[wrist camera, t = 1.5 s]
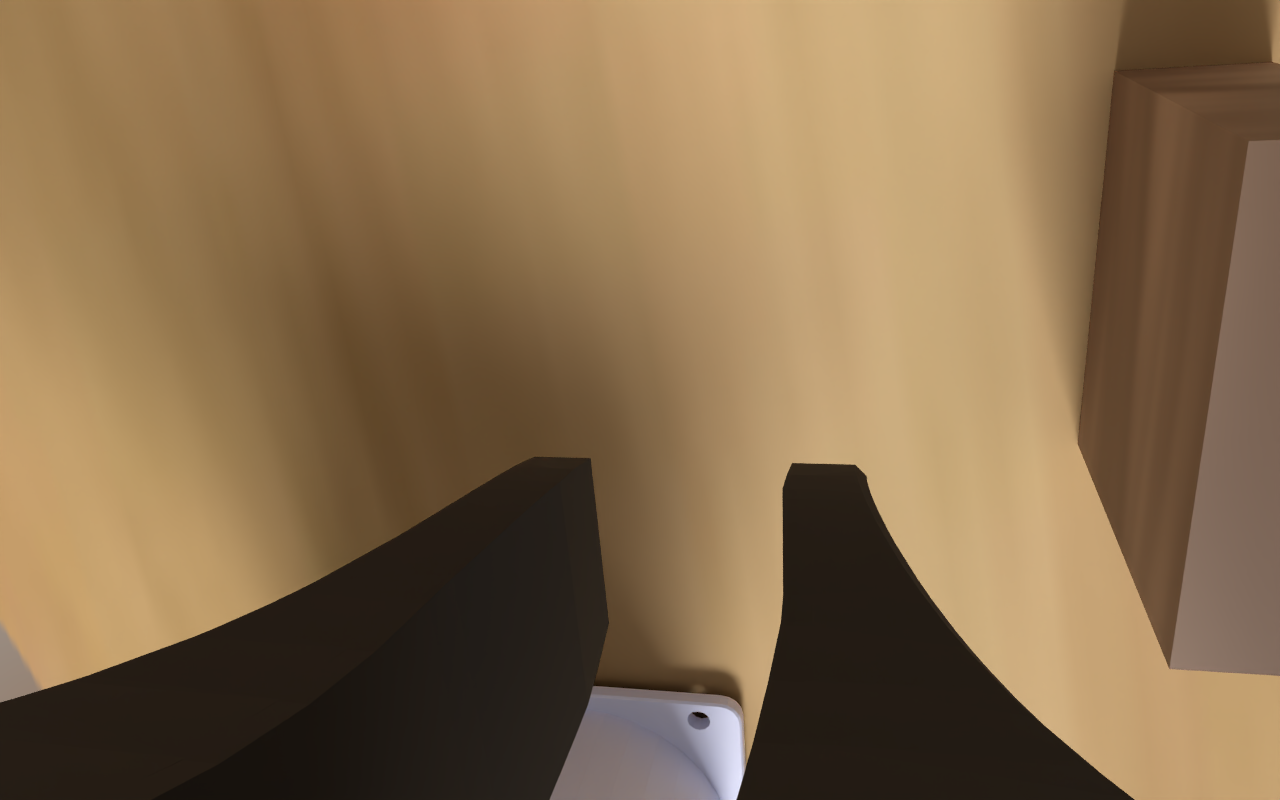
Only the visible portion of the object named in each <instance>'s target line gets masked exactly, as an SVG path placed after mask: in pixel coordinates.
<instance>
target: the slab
mask: <svg viewBox="0 0 1280 800" xmlns="http://www.w3.org/2000/svg"><path fill="white" fill-rule="evenodd" d="M1078 446H1079V448H1080V450H1081V453H1082V455H1083V458H1084V460H1085V463H1086V465H1087V468H1088V470H1089V473H1090V475H1091V477H1092V480H1093V482H1094V485H1095V487H1096V490H1097V492H1098V495H1099V497H1100V500H1101V502H1102V504H1103V507H1104V509H1105V512H1106V514H1107V517H1108V519H1109V522H1110V524H1111V527H1112V529H1113V531H1114V534H1115V536H1116V539H1117V541H1118V544H1119V546H1120V549H1121V551H1122V554H1123V556H1124V559H1125V561H1126V563H1127V566H1128V568H1129V571H1130V573H1131V576H1132V578H1133V581H1134V583H1135V586H1136V588H1137V590H1138V593H1139V595H1140V598H1141V600H1142V603H1143V605H1144V608H1145V610H1146V613H1147V615H1148V617H1149V620H1150V622H1151V625H1152V627H1153V630H1154V632H1155V635H1156V637H1157V640H1158V642H1159V644H1160V647H1161V649H1162V652H1163V654H1164V657H1165V659H1166V662H1167V664H1168V667H1169V669H1179V670H1195V671H1211V672H1228V673H1244V674H1260V675H1276V676H1280V64H1277V63H1273V62H1264V63H1246V64H1228V65H1210V66H1193V67H1175V68H1157V69H1139V70H1122V71H1114V79H1113V89H1112V99H1111V109H1110V120H1109V130H1108V140H1107V151H1106V161H1105V171H1104V181H1103V192H1102V202H1101V212H1100V222H1099V233H1098V243H1097V253H1096V264H1095V274H1094V284H1093V294H1092V305H1091V315H1090V325H1089V335H1088V346H1087V356H1086V366H1085V377H1084V387H1083V397H1082V407H1081V418H1080V428H1079V438H1078Z"/></svg>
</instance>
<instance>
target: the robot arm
mask: <svg viewBox="0 0 1280 800" xmlns="http://www.w3.org/2000/svg"><path fill="white" fill-rule="evenodd" d="M608 624H609V620H608V611H607V602H606V593H605V584H604V575H603V566H602V557H601V548H600V539H599V530H598V521H597V512H596V503H595V495H594V486H593V477H592V468H591V459H590V458H558V457H533V458H531V459H529V460H527V461H524V462H522V463H520V464H518V465H516V466H514V467H512V468H511V469H509V470H507V471H505V472H504V473H502V474H500V475H498V476H497V477H495V478H493V479H492V480H490V481H488V482H487V483H485V484H483V485H482V486H480V487H478V488H477V489H475V490H473V491H472V492H470V493H469V494H467V495H465V496H464V497H462V498H460V499H459V500H457V501H455V502H454V503H452V504H450V505H449V506H447V507H446V508H444V509H442V510H441V511H439V512H437V513H436V514H434V515H432V516H431V517H429V518H427V519H426V520H424V521H422V522H421V523H419V524H418V525H416V526H414V527H413V528H411V529H409V530H408V531H406V532H404V533H403V534H401V535H399V536H398V537H396V538H394V539H392V540H390V541H389V542H387V543H385V544H383V545H381V546H379V547H378V548H376V549H374V550H372V551H370V552H369V553H367V554H365V555H363V556H361V557H360V558H358V559H356V560H354V561H352V562H350V563H349V564H347V565H345V566H343V567H341V568H340V569H338V570H336V571H334V572H332V573H331V574H329V575H327V576H325V577H323V578H321V579H320V580H318V581H316V582H314V583H312V584H310V585H308V586H306V587H304V588H302V589H300V590H298V591H296V592H294V593H292V594H290V595H288V596H286V597H283V598H281V599H279V600H277V601H275V602H273V603H271V604H269V605H267V606H264V607H262V608H260V609H258V610H255V611H253V612H251V613H249V614H246V615H244V616H242V617H239V618H237V619H235V620H233V621H230V622H228V623H226V624H224V625H221V626H219V627H217V628H214V629H212V630H210V631H207V632H205V633H202V634H200V635H197V636H195V637H192V638H190V639H187V640H184V641H181V642H179V643H176V644H173V645H171V646H168V647H165V648H162V649H160V650H157V651H154V652H151V653H149V654H146V655H143V656H140V657H138V658H135V659H132V660H130V661H127V662H124V663H121V664H119V665H116V666H113V667H110V668H108V669H105V670H102V671H99V672H97V673H94V674H91V675H88V676H85V677H82V678H79V679H76V680H73V681H70V682H67V683H64V684H60V685H57V686H54V687H51V688H47V689H44V690H41V691H38V692H34V693H31V694H28V695H25V696H21V697H18V698H15V699H11V700H8V701H4V702H1V703H0V800H1134V799H1133V798H1132V797H1130V796H1129V795H1128V794H1127V793H1125V792H1124V791H1123V790H1121V789H1120V788H1119V787H1118V786H1116V785H1115V784H1114V783H1112V782H1111V781H1110V780H1108V779H1107V778H1106V777H1105V776H1103V775H1102V774H1101V773H1100V772H1099V771H1097V770H1096V769H1095V768H1094V767H1093V766H1091V765H1090V764H1089V763H1088V762H1087V761H1086V760H1084V759H1083V758H1082V757H1081V756H1080V755H1078V754H1077V753H1076V752H1075V751H1074V750H1073V749H1071V748H1070V747H1069V746H1068V745H1067V744H1065V743H1064V742H1063V741H1062V740H1061V739H1060V738H1058V737H1057V736H1056V735H1055V734H1054V733H1052V732H1051V731H1050V730H1049V729H1048V728H1047V727H1045V726H1044V725H1043V724H1042V723H1041V722H1040V721H1039V720H1038V719H1037V718H1036V717H1035V716H1034V715H1033V714H1032V713H1031V712H1029V711H1028V710H1027V709H1026V708H1025V707H1024V706H1023V705H1022V704H1021V703H1020V702H1019V701H1018V700H1017V699H1016V698H1015V697H1014V696H1013V695H1012V694H1011V693H1010V692H1009V691H1008V690H1007V689H1006V687H1005V686H1004V685H1003V684H1002V683H1001V682H1000V681H999V680H998V679H997V678H996V677H995V676H994V675H993V674H992V673H991V672H990V670H989V669H988V668H987V667H986V666H985V665H984V664H983V663H982V662H981V661H980V659H979V658H978V657H977V656H976V655H975V654H974V652H973V651H972V650H971V649H970V648H969V647H968V645H967V644H966V643H965V642H964V641H963V639H962V638H961V637H960V636H959V634H958V633H957V632H956V631H955V630H954V628H953V627H952V626H951V624H950V623H949V622H948V620H947V619H946V618H945V616H944V615H943V614H942V612H941V611H940V610H939V609H938V607H937V606H936V605H935V603H934V602H933V601H932V599H931V598H930V596H929V595H928V593H927V592H926V591H925V589H924V588H923V586H922V585H921V583H920V582H919V581H918V579H917V577H916V576H915V574H914V573H913V571H912V570H911V568H910V566H909V565H908V563H907V562H906V560H905V558H904V557H903V555H902V554H901V552H900V550H899V549H898V547H897V546H896V544H895V542H894V540H893V539H892V537H891V535H890V533H889V532H888V530H887V528H886V526H885V524H884V522H883V520H882V518H881V516H880V514H879V512H878V510H877V508H876V505H875V503H874V501H873V498H872V496H871V493H870V490H869V487H868V483H867V476H866V475H865V474H864V473H863V472H862V471H861V470H860V469H859V468H858V467H857V466H856V465H843V464H803V463H792V464H791V467H790V469H789V471H788V474H787V476H786V480H785V483H784V486H783V605H782V617H781V625H780V629H779V634H778V639H777V643H776V648H775V653H774V658H773V662H772V667H771V672H770V676H769V681H768V685H767V689H766V693H765V697H764V701H763V705H762V709H761V713H760V717H759V721H758V725H757V729H756V734H755V738H754V742H753V745H752V748H751V752H750V755H749V759H748V762H747V765H746V761H745V740H744V720H743V711H742V708H741V706H740V705H739V704H738V703H737V702H736V701H735V700H733V699H732V698H730V697H727V696H722V695H712V694H698V693H684V692H671V691H657V690H643V689H629V688H616V687H602V686H593V685H594V681H595V677H596V673H597V670H598V666H599V662H600V658H601V653H602V649H603V645H604V641H605V637H606V633H607V629H608ZM692 712H702V713H704V714H705V715H707V716H708V718H699V717H696V716H695V715H693V714H692Z"/></svg>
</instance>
